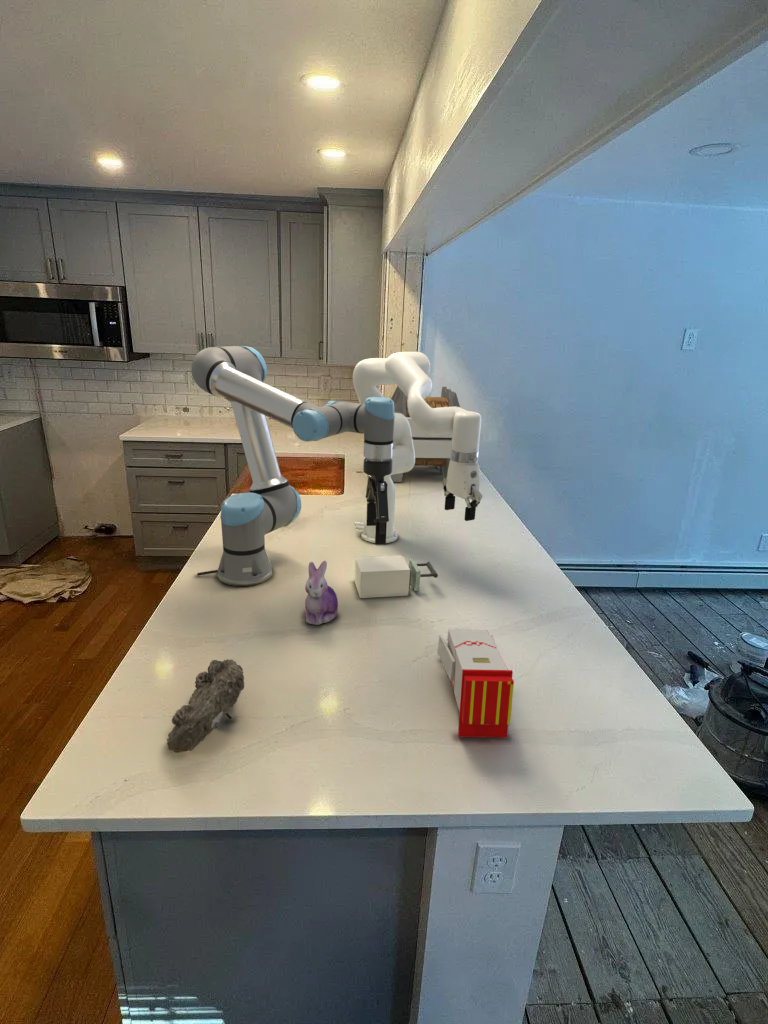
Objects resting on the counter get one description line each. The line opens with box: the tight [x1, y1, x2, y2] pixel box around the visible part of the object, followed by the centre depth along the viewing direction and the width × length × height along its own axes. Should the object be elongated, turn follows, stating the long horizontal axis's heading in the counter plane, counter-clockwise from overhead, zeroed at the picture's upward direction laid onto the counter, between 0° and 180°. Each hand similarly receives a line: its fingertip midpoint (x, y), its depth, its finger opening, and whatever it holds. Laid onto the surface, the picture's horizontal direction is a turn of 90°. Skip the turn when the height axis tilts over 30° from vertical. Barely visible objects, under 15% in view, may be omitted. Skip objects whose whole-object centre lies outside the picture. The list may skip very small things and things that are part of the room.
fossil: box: [166, 658, 245, 754], centre depth 106 cm, size 22×10×15 cm
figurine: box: [304, 560, 339, 626], centre depth 142 cm, size 9×10×15 cm
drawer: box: [408, 558, 439, 592], centre depth 160 cm, size 18×8×6 cm, turn 101°
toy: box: [437, 628, 515, 738], centre depth 117 cm, size 12×13×30 cm
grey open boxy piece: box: [390, 385, 461, 483], centre depth 268 cm, size 34×33×41 cm
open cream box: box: [354, 554, 410, 599], centre depth 159 cm, size 14×10×8 cm
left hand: (375, 534), depth 154 cm, fingers open, 13 cm apart
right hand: (459, 514), depth 163 cm, fingers open, 9 cm apart
